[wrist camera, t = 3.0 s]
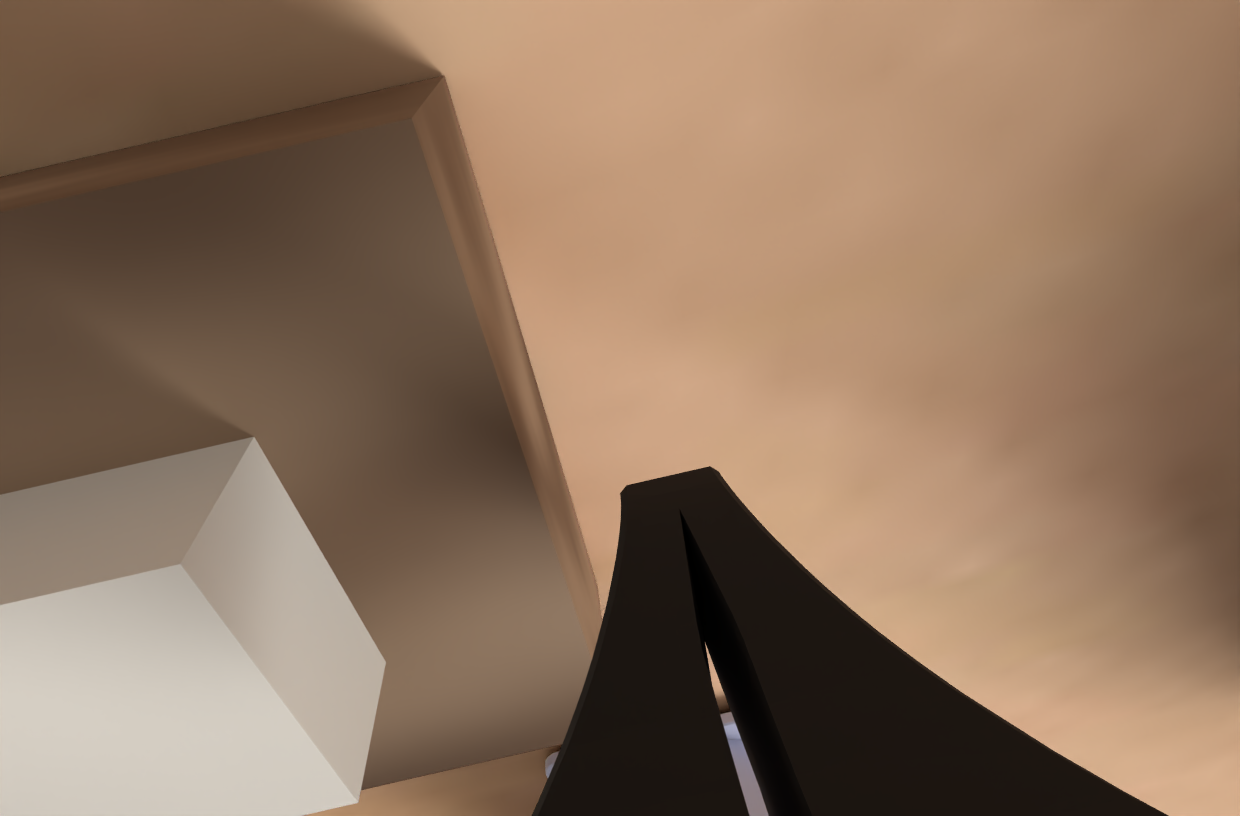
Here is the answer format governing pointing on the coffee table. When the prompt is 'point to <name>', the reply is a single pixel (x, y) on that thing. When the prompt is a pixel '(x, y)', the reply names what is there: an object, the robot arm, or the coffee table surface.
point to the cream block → (177, 647)
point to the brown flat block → (321, 388)
